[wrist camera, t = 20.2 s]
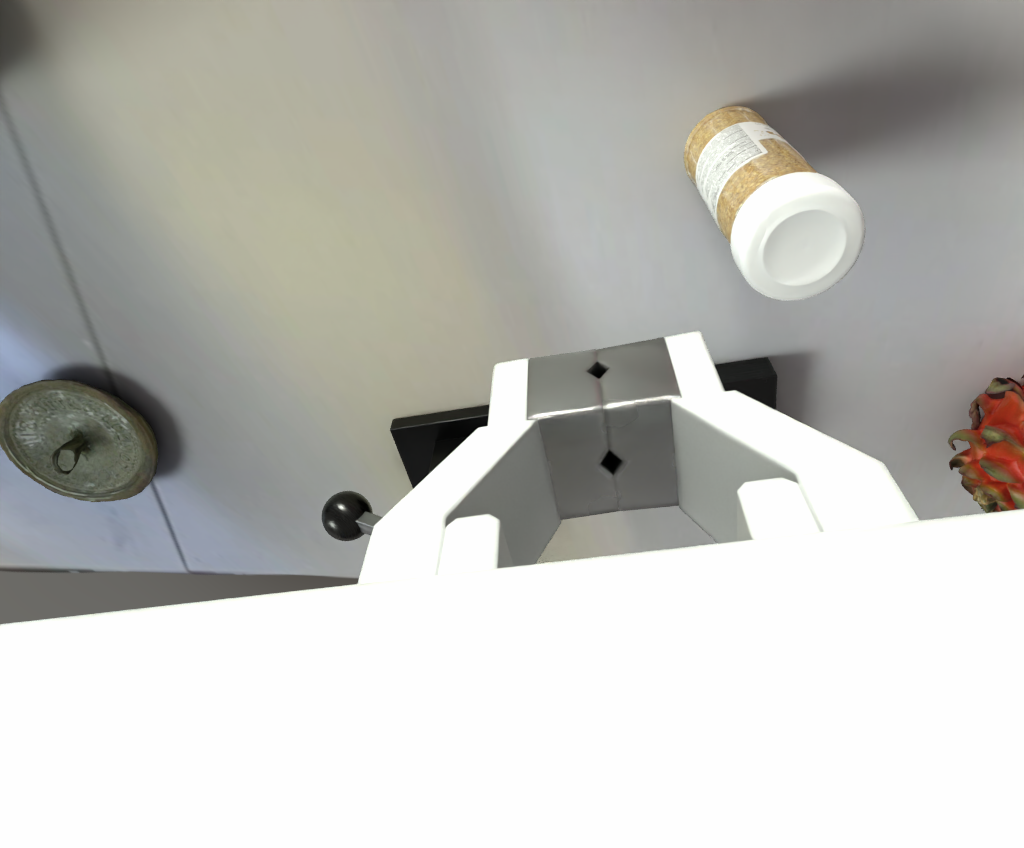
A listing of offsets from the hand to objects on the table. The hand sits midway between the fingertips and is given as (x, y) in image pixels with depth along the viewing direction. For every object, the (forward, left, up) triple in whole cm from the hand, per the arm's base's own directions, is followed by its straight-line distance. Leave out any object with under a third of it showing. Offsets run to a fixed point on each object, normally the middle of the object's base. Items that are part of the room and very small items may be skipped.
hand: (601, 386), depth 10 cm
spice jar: (+8, -6, -29) cm, 31 cm away
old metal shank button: (-37, -17, -29) cm, 50 cm away
